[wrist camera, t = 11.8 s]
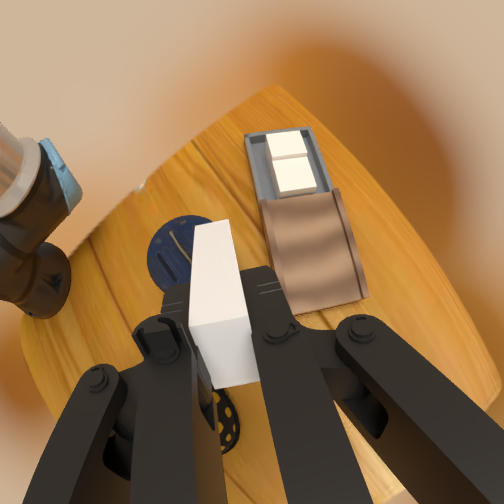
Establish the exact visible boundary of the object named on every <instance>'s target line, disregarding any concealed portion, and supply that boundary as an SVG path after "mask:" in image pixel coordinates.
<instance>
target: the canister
mask: <svg viewBox="0 0 504 504" xmlns="http://www.w3.org/2000/svg"><path fill="white" fill-rule="evenodd" d="M207 223H212V221H211V220H209V219H207V218H204V217H201V216H195V215H187V216H181V217H177V218H175V219H172V220H170V221H169V222H167V223H166V224H164V225H163V226H162V227H161V228H160V229H159V230H158V231H157V232H156V233H155V235H154V237H153V238H152V240H151V242H150V245H149V248H148V252H147V266H148V270H149V273H150V276H151V278H152V279H153V281H154V282H155V284H156V285H157V286H158V287H159V288H160V289H161V290H162V291H163V292H165V293H166V291H167V290H168V289H169V287H170V286H172V285H178V284H183V283H188V282H191V271H192V257H193V244H194V233H195V226H197V225H202V224H207Z"/></svg>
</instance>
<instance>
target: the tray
mask: <svg viewBox="0 0 504 504" xmlns="http://www.w3.org/2000/svg"><path fill="white" fill-rule="evenodd" d="M299 130H300V133H301V136H302V138H303V141H304V144H305V147H306V150H307V152H308V153H307V158H308V161H309V164H310V167H311V170H312V173H313V176H314V179H315V182H316V185H317V188H316V191H315V193H314V194H318V193H325V192H331V191H332V189H334V188H333V185H332V182H331V179H330V176H329V174H328V171H327V168H326V165H325V163H324V160H323V157H322V154H321V152H320V149H319V147H318V144H317V141H316V139H315V136H314V134H313V131H312V129H311V126H309V127H298V128H289V129H280V130H271V131H264V132H256V133H249V134H244V142H245V148H246V152H247V157H248V161H249V166H250V170H251V175H252V179H253V184H254V188H255V193H256V198H257V202H258V207H259V211H260V200H261V199H267V201H272V200H277V199H276V195H275V191H274V187H273V183H272V179H271V175H270V171H269V167H268V164H267V160H266V156H265V143H266V134H273V133H281V132H290V131H299Z"/></svg>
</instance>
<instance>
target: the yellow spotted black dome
mask: <svg viewBox="0 0 504 504" xmlns="http://www.w3.org/2000/svg"><path fill="white" fill-rule="evenodd" d="M211 385H212V394H213V396H214V398H215V401H216V404H217V415H218V425H219V435H220V444H221V453H222V455H223V454H225V453H227V452H229V451H230V450H231V449H232V448H233V447H234V446H235V445H236V443H237V441H238V439H239V434H240V423H239V419H238V415H237V413H236V411H235V408H234V406H233V404H232V403H231V401H230V399H229V397H228V396H227V394H226V393H225V391H224V390H223V388H220V389H214V386H213V384H212V382H211Z"/></svg>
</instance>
